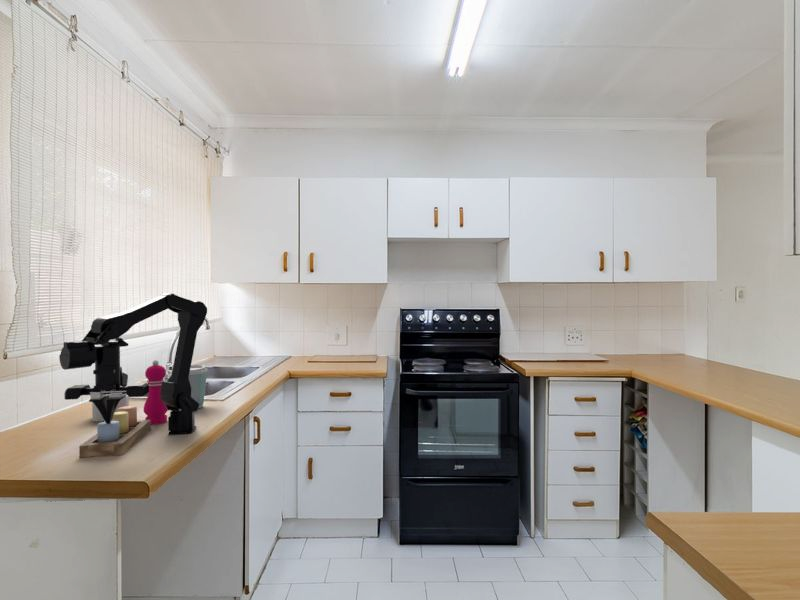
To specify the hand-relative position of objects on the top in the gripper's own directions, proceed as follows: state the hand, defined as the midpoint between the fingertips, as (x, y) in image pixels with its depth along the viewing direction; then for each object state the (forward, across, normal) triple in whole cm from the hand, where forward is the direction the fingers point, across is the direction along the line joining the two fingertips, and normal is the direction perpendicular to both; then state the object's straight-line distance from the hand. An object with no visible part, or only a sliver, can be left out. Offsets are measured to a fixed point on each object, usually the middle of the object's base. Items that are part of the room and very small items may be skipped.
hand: (108, 423), depth 131 cm
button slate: (+5, 0, 0) cm, 5 cm away
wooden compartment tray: (+7, 0, -7) cm, 10 cm away
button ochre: (+4, 0, -7) cm, 8 cm away
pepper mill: (+7, -4, -28) cm, 29 cm away
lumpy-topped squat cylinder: (+8, +13, -39) cm, 42 cm away
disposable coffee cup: (+7, -11, -47) cm, 49 cm away
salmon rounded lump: (+4, 0, -14) cm, 15 cm away
